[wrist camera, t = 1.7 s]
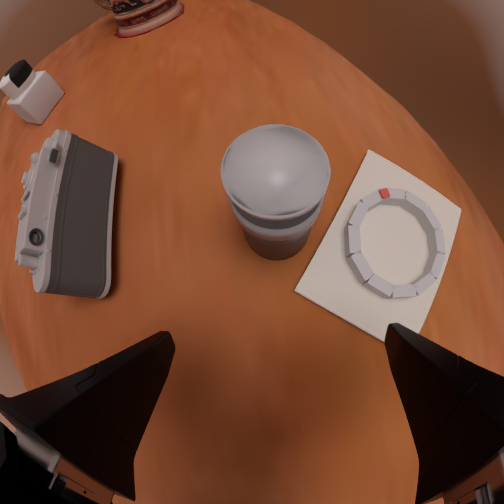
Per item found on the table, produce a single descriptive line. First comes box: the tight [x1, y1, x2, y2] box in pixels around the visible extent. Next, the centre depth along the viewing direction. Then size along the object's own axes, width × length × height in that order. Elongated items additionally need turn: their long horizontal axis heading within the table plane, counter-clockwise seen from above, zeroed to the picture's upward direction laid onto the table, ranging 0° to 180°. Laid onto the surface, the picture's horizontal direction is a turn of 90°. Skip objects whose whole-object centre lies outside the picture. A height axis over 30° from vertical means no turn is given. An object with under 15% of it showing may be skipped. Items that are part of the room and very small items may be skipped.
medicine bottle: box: [0, 60, 64, 125], centre depth 28 cm, size 7×7×12 cm
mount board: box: [294, 150, 461, 343], centre depth 22 cm, size 16×12×3 cm
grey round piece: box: [221, 124, 330, 260], centre depth 19 cm, size 6×6×11 cm
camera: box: [15, 129, 118, 299], centre depth 22 cm, size 9×16×10 cm, turn 7°
